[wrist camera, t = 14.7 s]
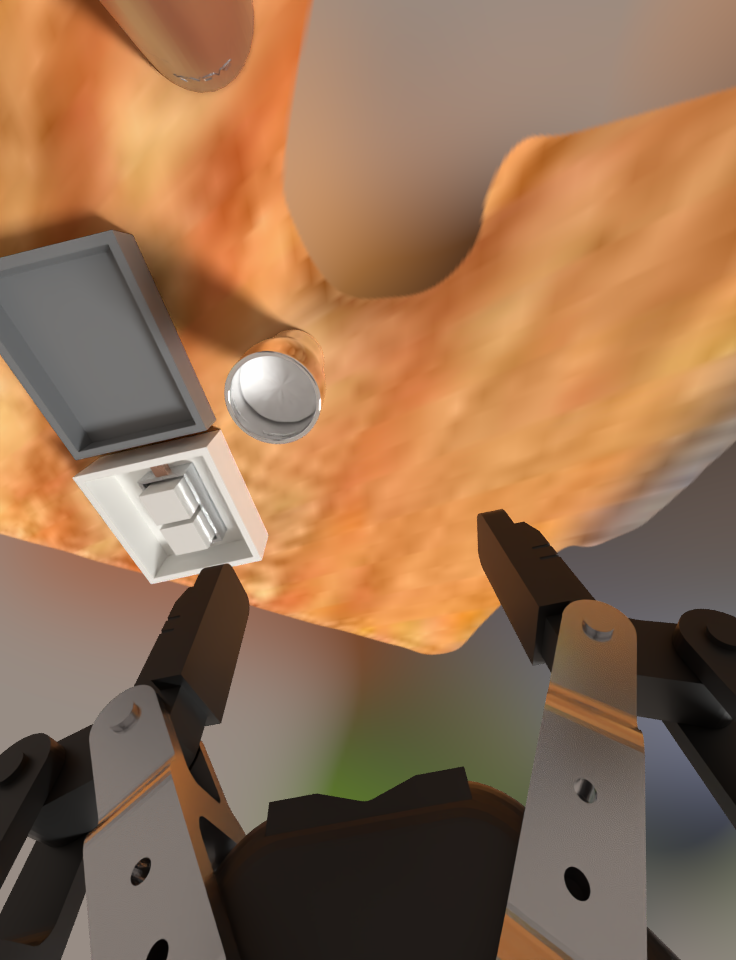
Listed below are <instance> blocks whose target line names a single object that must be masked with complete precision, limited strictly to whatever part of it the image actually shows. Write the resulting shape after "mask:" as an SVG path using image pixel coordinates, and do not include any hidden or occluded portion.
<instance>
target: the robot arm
mask: <svg viewBox="0 0 736 960" xmlns="http://www.w3.org/2000/svg"><path fill="white" fill-rule="evenodd" d="M99 1H100V2H101V3H102V5H103V6H104V7H105V8H106V9H107V11H108V12H109V13H110V14H111V15H112V17H113V18H114V19H115V20H116V22H117V23H118V24H119V25H120V27H121V28H122V29H123V30H124V31H125V33H126V34H127V35H128V36H129V37H130V39H131V40H132V41H133V42H134V43H135V45H136V46H137V47H138V48H139V49H140V51H141V52H142V53H143V54H144V55H145V57H146V58H147V59H148V60H149V61H150V62H151V63H152V64H153V66H154V67H155V68H156V69H157V70H158V71H159V72H160V73H161V74H162V75H164V76H165V77H166V78H168V79H169V80H170V81H172V82H173V83H174V84H176V85H178V86H180V87H183V88H185V89H187V90H190V91H196V92H201V93H203V92H213V91H216V90H219V89H221V88H223V87H225V86H227V85H228V84H229V83H230V82H231V81H233V80H234V79H235V78H236V77H237V75H238V74H239V72H240V71H241V69H242V68H243V66H244V64H245V62H246V59H247V57H248V54H249V52H250V48H251V42H252V37H253V27H254V9H253V0H99ZM477 531H478V554H479V558H480V562H481V565H482V568H483V570H484V572H485V574H486V576H487V578H488V580H489V582H490V583H491V585H492V587H493V589H494V591H495V593H496V595H497V597H498V599H499V601H500V603H501V605H502V607H503V609H504V611H505V613H506V615H507V617H508V619H509V621H510V623H511V624H512V626H513V628H514V630H515V632H516V634H517V636H518V638H519V640H520V642H521V644H522V646H523V648H524V650H525V652H526V654H527V656H528V657H529V659H530V662H531V663H532V665H539V664H544V663H546V665H547V666H548V668H549V670H550V672H551V678H550V683H549V689H548V692H547V697H546V702H545V707H544V712H543V718H542V723H541V728H540V733H539V739H538V744H537V749H536V755H535V760H534V765H533V770H532V776H531V781H530V786H529V791H528V797H527V802H526V807H524V806H523V805H522V804H521V803H519V802H518V801H517V800H515V799H513V798H512V797H510V796H508V795H507V794H506V793H503V792H502V791H499V790H497V789H495V788H493V787H491V786H488V785H485V784H481V783H478V782H472V781H468V780H467V776H466V772H465V769H464V767H458V768H453V769H447V770H442V771H437V772H431V773H426V774H421V775H415V776H414V777H412V778H410V779H408V780H406V781H405V782H403V783H401V784H399V785H397V786H395V787H394V788H392V789H390V790H388V791H387V792H385V793H383V794H381V795H379V796H377V797H376V798H374V799H372V800H369V801H357V800H351V799H345V798H340V797H334V796H328V795H322V794H312V795H306V796H301V797H296V798H290V799H285V800H279V801H274V802H270V803H269V809H268V817H267V820H266V821H265V822H263V823H261V824H260V825H259V826H257V827H256V828H254V829H253V830H252V831H251V832H250V833H248V834H247V835H246V834H245V832H244V831H243V829H242V827H241V825H240V824H239V822H238V821H237V819H236V818H235V816H234V814H233V813H232V811H231V809H230V807H229V805H228V803H227V800H226V798H225V795H224V793H223V790H222V788H221V785H220V783H219V781H218V778H217V775H216V773H215V770H214V768H213V766H212V763H211V761H210V758H209V756H208V753H207V751H206V748H205V746H204V744H203V742H202V741H201V737H202V733H203V730H204V726H209V725H215V724H220V723H221V721H222V717H223V713H224V710H225V706H226V702H227V698H228V694H229V690H230V686H231V682H232V678H233V674H234V670H235V667H236V663H237V659H238V654H239V651H240V647H241V643H242V639H243V635H244V631H245V628H246V623H247V620H248V616H249V600H248V596H247V594H246V592H245V590H244V588H243V586H242V584H241V583H240V581H239V579H238V577H237V575H236V573H235V571H234V570H233V568H232V566H231V565H230V564H228V563H226V564H221V565H216V566H211V567H206V568H203V569H202V570H201V571H200V573H199V576H198V578H197V580H196V582H195V584H194V587H189V588H188V589H187V590H186V591H185V592H184V593H183V594H182V595H181V597H180V598H179V599H178V600H177V601H176V602H175V604H174V606H173V608H172V610H171V612H170V615H169V616H168V621H166V622H165V624H164V627H163V628H162V633H161V634H159V637H158V639H157V641H156V643H155V645H154V647H153V649H152V651H151V653H150V655H149V657H148V659H147V661H146V663H145V665H144V667H143V669H142V671H141V673H140V675H139V677H138V679H137V681H136V683H135V685H134V687H132V688H129V689H127V690H125V691H124V692H122V693H120V694H119V695H118V696H116V697H115V698H114V699H113V700H112V701H110V702H109V704H107V706H106V707H105V708H104V709H103V710H102V711H101V713H100V714H99V715H98V717H97V718H96V720H95V722H94V724H92V725H90V726H88V727H86V728H84V729H82V730H80V731H78V732H76V733H74V734H72V735H70V736H68V737H66V738H64V739H62V740H60V741H58V742H56V741H55V740H54V739H52V738H51V737H49V736H48V735H46V734H44V733H38V734H33V735H30V736H28V737H25V738H23V739H21V740H20V741H18V742H16V743H15V744H13V745H12V746H11V747H9V748H8V749H7V750H5V751H4V752H3V753H2V754H1V755H0V889H1V887H2V885H3V883H4V881H5V879H6V877H7V875H8V873H9V871H10V869H11V867H12V865H13V863H14V861H15V859H16V857H17V855H18V853H19V852H20V850H21V848H22V846H23V844H24V842H25V840H26V838H27V836H28V837H30V838H32V839H34V840H36V842H35V844H34V846H33V848H32V851H31V853H30V854H29V856H28V858H27V861H26V863H25V865H24V867H23V869H22V871H21V873H20V875H19V877H18V879H17V881H16V883H15V885H14V887H13V889H12V891H11V893H10V895H9V897H8V899H7V901H6V903H5V905H4V907H3V909H2V911H1V913H0V960H61V957H62V955H63V952H64V949H65V947H66V944H67V941H68V938H69V936H70V933H71V931H72V928H73V925H74V922H75V920H76V917H77V914H78V912H79V909H80V906H81V904H82V901H83V898H84V895H85V893H86V897H87V909H88V922H89V935H90V947H91V960H680V959H679V958H678V957H677V956H676V955H675V954H674V953H673V952H672V951H671V950H670V949H669V948H668V947H667V946H666V945H665V944H664V943H663V942H662V941H661V940H660V939H659V938H658V937H657V936H656V935H655V934H654V933H653V932H652V931H651V930H650V929H649V928H648V927H647V921H646V920H647V916H646V841H645V840H646V838H645V837H646V833H645V752H644V739H643V734H642V732H641V730H639V729H638V727H637V716H640V717H646V718H652V719H658V720H662V722H663V723H664V724H665V726H666V727H667V729H668V730H669V732H670V733H671V735H672V736H673V738H674V739H675V741H676V742H677V744H678V745H679V747H680V748H681V750H682V751H683V752H684V754H685V755H686V757H687V758H688V760H689V761H690V763H691V764H692V766H693V767H694V769H695V770H696V772H697V773H698V775H699V776H700V777H701V779H702V780H703V781H704V783H705V785H706V786H707V788H708V789H709V791H710V792H711V794H712V795H713V797H714V798H715V800H716V801H717V803H718V804H719V805H720V807H721V808H722V810H723V811H724V813H725V814H726V816H727V817H728V819H729V820H730V821H731V823H732V824H733V826H734V828H735V829H736V618H735V617H734V616H731V615H729V614H726V613H723V612H719V611H715V610H709V609H694V610H690V611H687V612H685V613H684V614H683V615H682V616H681V618H680V619H679V622H678V624H674V623H664V622H653V621H643V620H635V619H630V618H627V617H626V616H625V615H624V614H623V613H622V612H620V611H619V610H618V609H616V608H614V607H612V606H610V605H608V604H606V603H603V602H600V601H596V600H595V599H594V598H593V597H592V595H591V594H590V593H589V592H588V590H587V589H586V588H585V587H584V585H583V584H582V583H581V582H580V581H579V580H578V578H577V577H576V576H575V575H574V573H573V572H572V571H571V569H570V568H569V567H568V566H567V565H566V563H565V562H564V561H563V560H562V558H561V557H559V556H558V553H557V552H556V551H555V550H554V549H553V547H552V546H550V544H549V542H548V541H547V540H546V539H545V537H544V536H543V535H542V534H541V533H540V531H538V530H537V529H535V528H533V527H532V526H530V525H528V524H527V523H525V522H520V523H515V524H514V523H513V521H512V520H511V519H510V517H509V516H508V514H507V513H506V512H505V511H504V510H503V509H500V510H495V511H490V512H485V513H480V514H478V516H477Z"/></svg>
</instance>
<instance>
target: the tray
mask: <svg viewBox="0 0 736 960" xmlns="http://www.w3.org/2000/svg"><path fill="white" fill-rule="evenodd" d="M0 355H1V356H2V358H3V359H4V360H5V362H6V363H7V365H8V366H9V367H10V369H11V370H12V372H13V373H14V374H15V376H16V377H17V379H18V380H19V381H20V383H21V384H22V386H23V387H24V388H25V390H26V391H27V393H28V394H29V395H30V397H31V398H32V400H33V401H34V402H35V404H36V405H37V407H38V408H39V409H40V411H41V412H42V414H43V415H44V417H45V418H46V419H47V421H48V422H49V424H50V425H51V426H52V428H53V429H54V431H55V432H56V433H57V435H58V436H59V438H60V439H61V440H62V442H63V443H64V445H65V446H66V447H67V449H68V450H69V452H70V453H71V454H72V456H73V457H74V459H75V460H80V459H84V458H88V457H93V456H97V455H101V454H106V453H110V452H114V451H119V450H123V449H127V448H132V447H136V446H141V445H145V444H149V443H154V442H158V441H162V440H167V439H171V438H175V437H180V436H184V435H189V434H193V433H197V432H202V431H206V430H208V428H209V427H210V426H211V425H212V424H213V423H214V422H215V421H216V418H215V416H214V414H213V411H212V409H211V407H210V405H209V402H208V400H207V398H206V396H205V394H204V391H203V389H202V387H201V385H200V383H199V380H198V378H197V376H196V374H195V371H194V369H193V367H192V365H191V363H190V360H189V358H188V356H187V354H186V352H185V349H184V347H183V345H182V343H181V340H180V338H179V336H178V334H177V332H176V329H175V327H174V325H173V323H172V321H171V318H170V316H169V314H168V312H167V309H166V307H165V305H164V303H163V301H162V298H161V296H160V294H159V292H158V290H157V287H156V285H155V283H154V281H153V278H152V276H151V274H150V272H149V270H148V267H147V265H146V263H145V261H144V259H143V256H142V254H141V252H140V250H139V247H138V245H137V243H136V241H135V239H134V236H133V235H131V234H127V233H123V232H119V231H115V230H109V231H105V232H101V233H97V234H93V235H89V236H85V237H81V238H77V239H73V240H69V241H65V242H61V243H57V244H53V245H49V246H45V247H41V248H37V249H33V250H29V251H25V252H21V253H17V254H13V255H9V256H5V257H1V258H0Z"/></svg>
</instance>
